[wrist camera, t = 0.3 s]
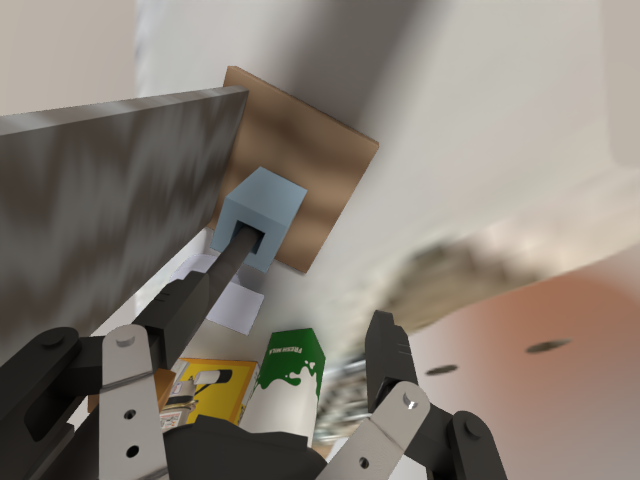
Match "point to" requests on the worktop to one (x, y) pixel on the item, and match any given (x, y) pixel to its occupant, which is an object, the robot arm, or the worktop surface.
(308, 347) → the milk carton
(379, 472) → the robot arm
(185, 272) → the wedge on round base
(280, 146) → the grey rod stand
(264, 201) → the sleeve
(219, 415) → the packaging box
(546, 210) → the worktop surface
